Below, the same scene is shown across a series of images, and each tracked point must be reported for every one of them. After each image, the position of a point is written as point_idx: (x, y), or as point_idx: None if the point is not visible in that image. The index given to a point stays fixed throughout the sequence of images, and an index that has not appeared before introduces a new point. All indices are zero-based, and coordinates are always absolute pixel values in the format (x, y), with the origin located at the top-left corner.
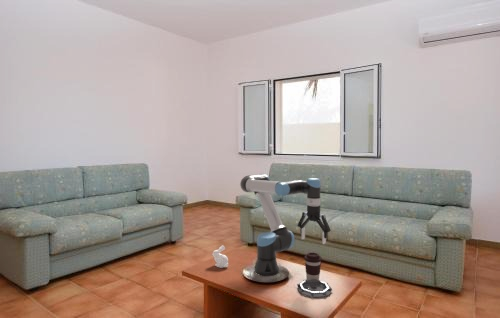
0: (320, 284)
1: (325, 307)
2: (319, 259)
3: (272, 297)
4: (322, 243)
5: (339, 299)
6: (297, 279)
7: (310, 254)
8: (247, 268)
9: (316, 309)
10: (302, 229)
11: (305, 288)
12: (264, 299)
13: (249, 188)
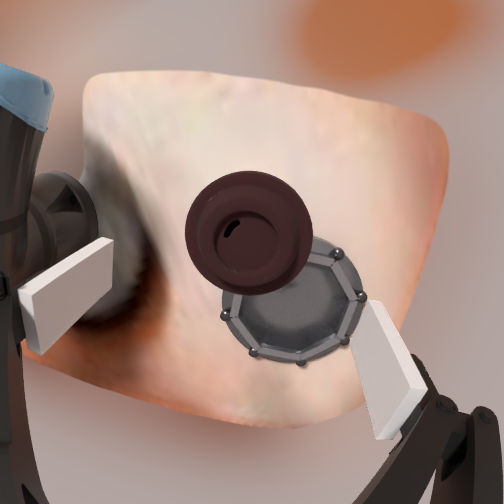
0: (312, 267)
1: (351, 388)
2: (304, 263)
3: (182, 394)
4: (351, 347)
5: None
6: None
7: (221, 228)
8: None
9: (326, 405)
10: (45, 348)
11: (261, 327)
12: (170, 407)
13: None
